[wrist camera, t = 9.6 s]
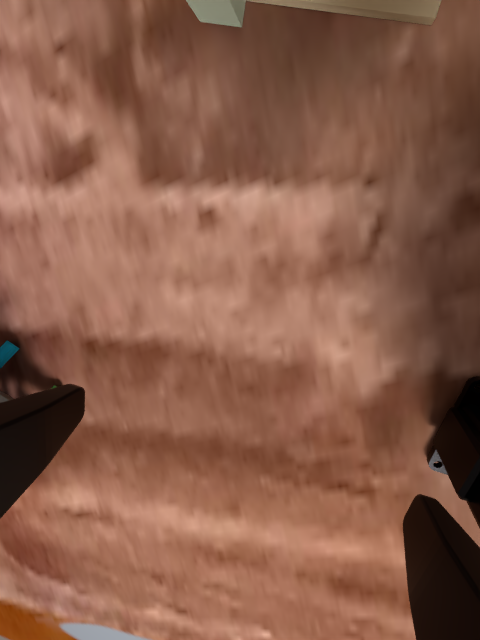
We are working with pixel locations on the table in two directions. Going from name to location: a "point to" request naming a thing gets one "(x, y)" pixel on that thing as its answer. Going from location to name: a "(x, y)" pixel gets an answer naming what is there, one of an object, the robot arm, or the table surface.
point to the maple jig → (371, 8)
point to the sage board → (219, 11)
